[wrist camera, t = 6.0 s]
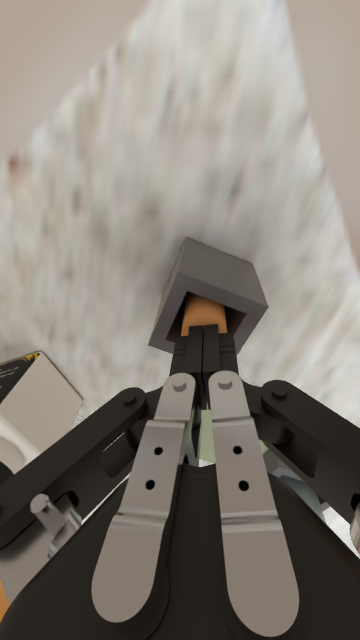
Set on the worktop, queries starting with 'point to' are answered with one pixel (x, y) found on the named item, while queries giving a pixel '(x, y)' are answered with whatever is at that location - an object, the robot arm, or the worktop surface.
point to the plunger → (202, 313)
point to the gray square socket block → (209, 294)
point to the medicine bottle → (32, 410)
